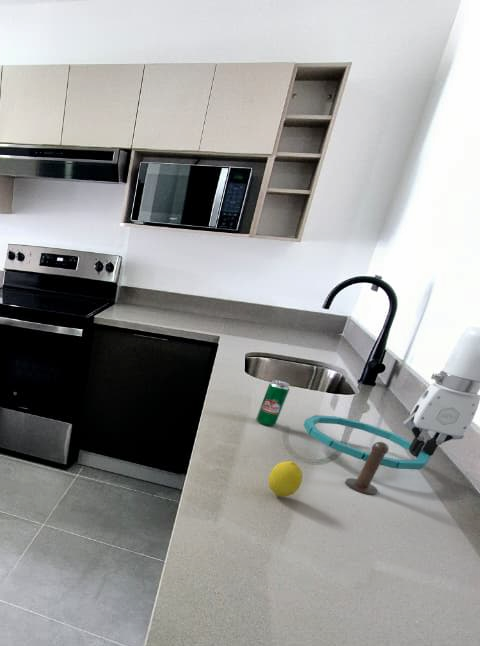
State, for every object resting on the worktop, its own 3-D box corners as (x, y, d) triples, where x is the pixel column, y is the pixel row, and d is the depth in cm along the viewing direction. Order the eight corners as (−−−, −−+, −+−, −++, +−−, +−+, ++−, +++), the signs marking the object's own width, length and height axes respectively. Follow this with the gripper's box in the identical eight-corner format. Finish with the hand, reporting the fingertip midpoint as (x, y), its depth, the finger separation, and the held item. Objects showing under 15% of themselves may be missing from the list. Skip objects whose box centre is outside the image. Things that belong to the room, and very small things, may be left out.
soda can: (254, 422, 139) (269, 381, 134) (257, 417, 143) (272, 378, 138) (273, 428, 136) (289, 387, 131) (276, 423, 140) (292, 383, 135)
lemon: (288, 507, 97) (304, 471, 93) (259, 494, 100) (273, 459, 97) (296, 498, 101) (311, 463, 97) (267, 486, 104) (281, 452, 100)
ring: (402, 437, 131) (405, 432, 130) (444, 480, 109) (448, 474, 108) (296, 413, 138) (298, 407, 137) (316, 449, 115) (319, 442, 115)
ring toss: (371, 485, 111) (394, 441, 107) (380, 497, 106) (404, 451, 101) (341, 477, 113) (362, 433, 108) (349, 489, 107) (371, 444, 103)
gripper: (425, 379, 111) (386, 452, 119) (509, 397, 107) (463, 471, 115) (412, 371, 118) (376, 441, 125) (491, 387, 114) (449, 458, 121)
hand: (418, 455), depth 120 cm, fingers closed on ring, 1 cm apart
